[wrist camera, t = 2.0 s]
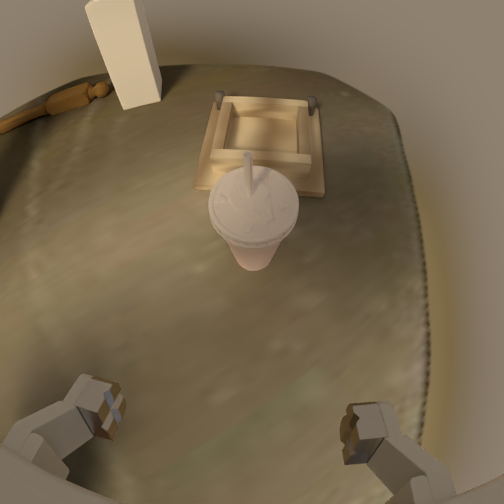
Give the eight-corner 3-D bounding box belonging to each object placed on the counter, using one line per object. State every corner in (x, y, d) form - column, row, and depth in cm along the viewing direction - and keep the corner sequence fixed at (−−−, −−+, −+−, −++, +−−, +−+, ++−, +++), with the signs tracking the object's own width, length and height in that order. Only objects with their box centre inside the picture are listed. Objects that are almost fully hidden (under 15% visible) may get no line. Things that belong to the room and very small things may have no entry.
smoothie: (261, 213, 31) (265, 110, 18) (299, 260, 29) (332, 172, 16) (208, 245, 30) (178, 153, 17) (245, 297, 28) (237, 230, 15)
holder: (195, 189, 32) (189, 170, 29) (214, 107, 38) (211, 88, 34) (322, 197, 32) (329, 179, 29) (316, 113, 37) (320, 94, 34)
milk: (123, 111, 38) (76, -12, 18) (127, 88, 41) (89, -23, 20) (162, 101, 39) (126, -31, 18) (163, 79, 41) (134, -38, 20)
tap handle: (-11, 123, 38) (107, 75, 38) (-4, 132, 40) (113, 89, 41) (-17, 134, 36) (103, 86, 37) (-10, 143, 39) (109, 99, 40)
